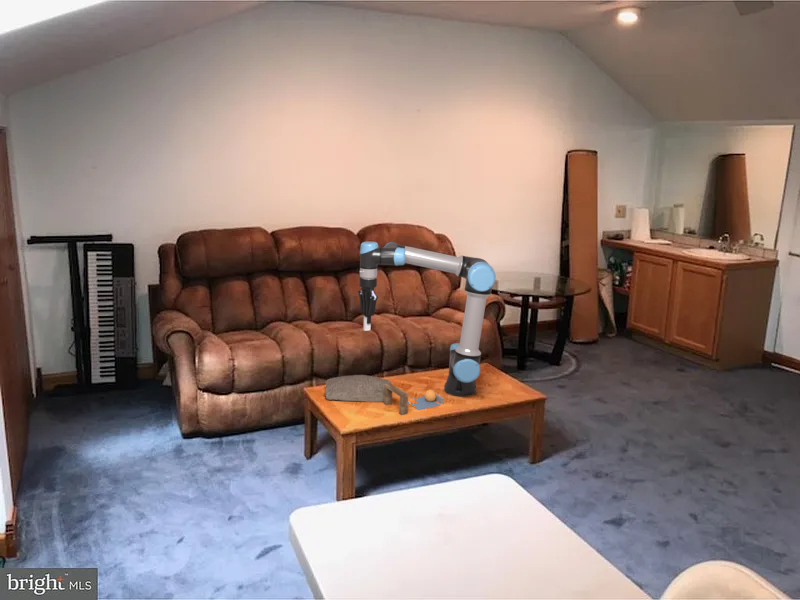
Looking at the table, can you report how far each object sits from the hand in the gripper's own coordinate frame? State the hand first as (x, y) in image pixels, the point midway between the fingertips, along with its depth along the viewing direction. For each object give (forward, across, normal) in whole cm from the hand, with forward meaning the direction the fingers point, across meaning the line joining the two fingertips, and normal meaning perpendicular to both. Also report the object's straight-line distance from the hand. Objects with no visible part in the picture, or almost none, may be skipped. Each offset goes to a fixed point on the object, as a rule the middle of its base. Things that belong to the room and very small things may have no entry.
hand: (366, 330), depth 299 cm
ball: (+30, +16, +25) cm, 42 cm away
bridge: (+32, +16, +6) cm, 37 cm away
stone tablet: (+33, -7, 0) cm, 34 cm away
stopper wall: (+32, +16, +28) cm, 46 cm away
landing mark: (+32, +16, +20) cm, 41 cm away
